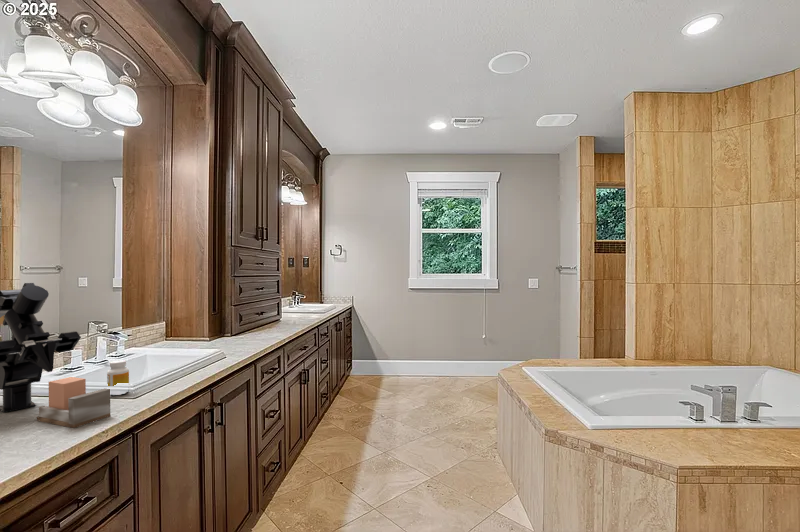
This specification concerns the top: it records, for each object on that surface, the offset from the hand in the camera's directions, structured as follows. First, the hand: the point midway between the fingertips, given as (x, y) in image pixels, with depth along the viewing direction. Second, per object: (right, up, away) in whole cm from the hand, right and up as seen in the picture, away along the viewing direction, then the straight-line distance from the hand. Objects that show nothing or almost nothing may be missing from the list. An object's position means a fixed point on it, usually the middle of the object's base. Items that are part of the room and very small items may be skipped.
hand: (50, 370), depth 107 cm
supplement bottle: (+6, -11, +17) cm, 21 cm away
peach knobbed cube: (+6, -9, -2) cm, 11 cm away
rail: (+9, -11, -4) cm, 15 cm away
